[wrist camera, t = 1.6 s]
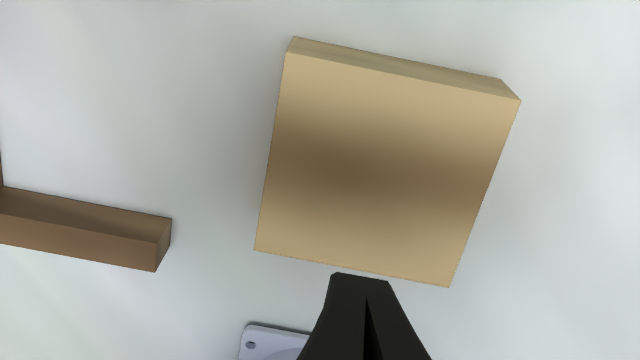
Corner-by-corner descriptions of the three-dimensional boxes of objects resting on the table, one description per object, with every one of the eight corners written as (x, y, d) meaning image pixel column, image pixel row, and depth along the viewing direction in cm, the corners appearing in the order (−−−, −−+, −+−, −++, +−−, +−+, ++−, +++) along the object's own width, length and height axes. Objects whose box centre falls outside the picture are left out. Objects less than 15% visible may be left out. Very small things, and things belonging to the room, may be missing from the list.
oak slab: (437, 246, 23) (448, 287, 21) (264, 212, 23) (253, 250, 20) (498, 77, 20) (521, 100, 17) (294, 34, 20) (285, 52, 17)
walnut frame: (169, 246, 24) (154, 272, 22) (-28, 208, 23) (-60, 231, 21) (213, -323, 15) (195, -358, 13) (-104, -400, 14) (-169, -446, 13)
